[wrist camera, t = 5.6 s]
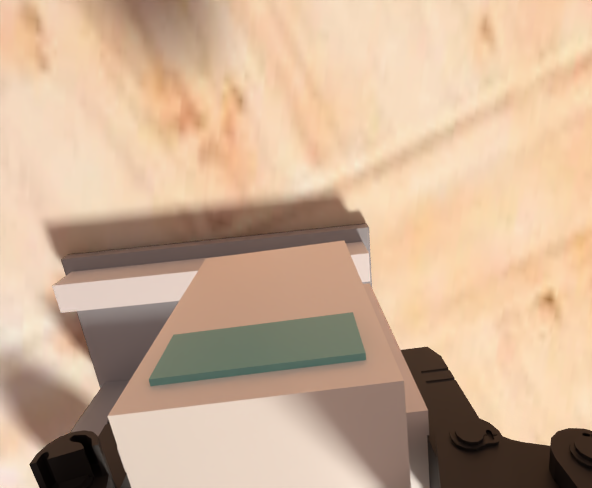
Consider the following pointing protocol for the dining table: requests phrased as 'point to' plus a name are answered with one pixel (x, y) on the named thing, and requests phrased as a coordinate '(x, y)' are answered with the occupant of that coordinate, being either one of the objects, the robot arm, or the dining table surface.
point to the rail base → (148, 319)
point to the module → (268, 382)
